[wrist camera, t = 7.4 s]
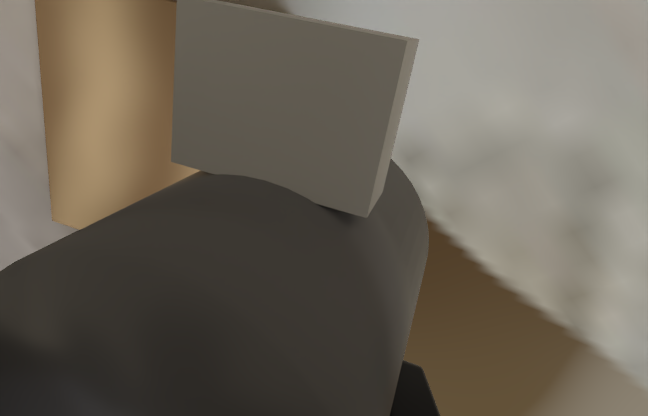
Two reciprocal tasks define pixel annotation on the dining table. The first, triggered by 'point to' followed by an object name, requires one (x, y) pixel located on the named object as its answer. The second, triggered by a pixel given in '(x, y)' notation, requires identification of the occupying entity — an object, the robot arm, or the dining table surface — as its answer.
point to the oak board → (107, 103)
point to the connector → (239, 242)
